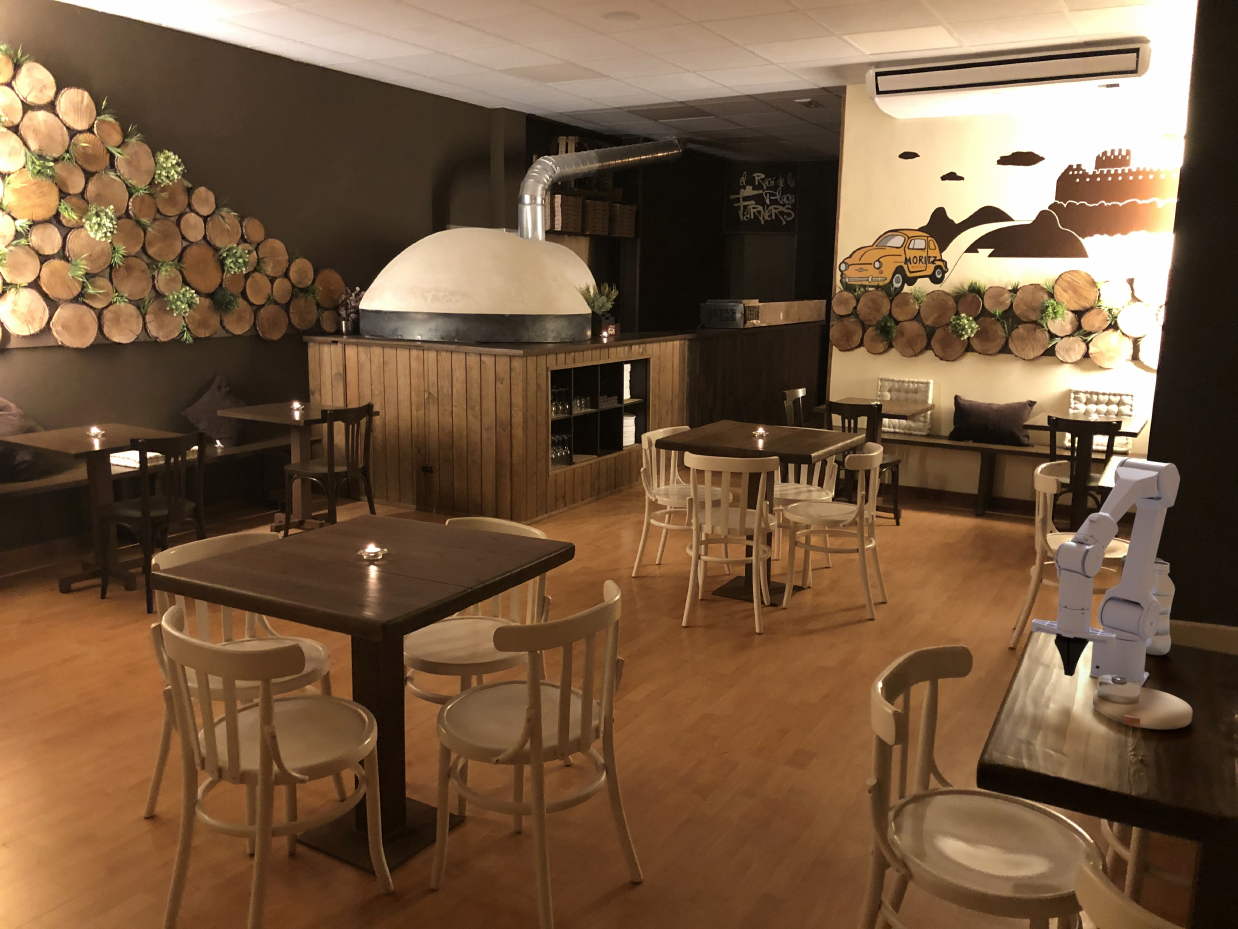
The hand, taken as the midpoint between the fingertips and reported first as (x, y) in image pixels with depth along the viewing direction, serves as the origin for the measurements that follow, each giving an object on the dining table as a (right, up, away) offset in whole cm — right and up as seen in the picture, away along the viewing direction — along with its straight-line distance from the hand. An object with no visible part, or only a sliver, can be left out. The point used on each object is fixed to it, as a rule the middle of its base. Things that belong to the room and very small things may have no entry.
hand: (1069, 674), depth 184 cm
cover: (+7, -3, -5) cm, 9 cm away
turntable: (+10, -6, -7) cm, 13 cm away
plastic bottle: (+29, -1, +24) cm, 37 cm away
